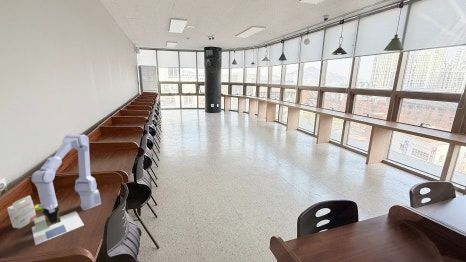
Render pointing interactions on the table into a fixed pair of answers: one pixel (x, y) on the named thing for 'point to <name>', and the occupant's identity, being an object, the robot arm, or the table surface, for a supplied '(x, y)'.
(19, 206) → the ink cartridge box
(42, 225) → the sage block
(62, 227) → the blueprint board
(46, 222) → the walnut block
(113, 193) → the table surface
